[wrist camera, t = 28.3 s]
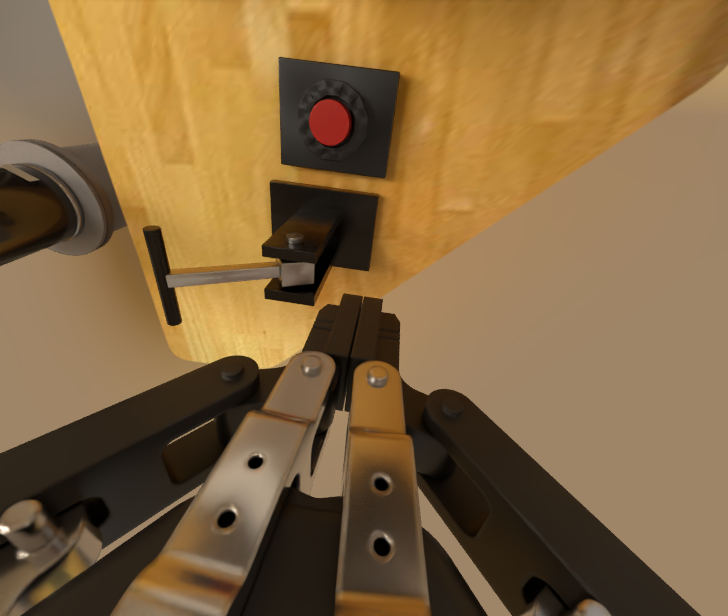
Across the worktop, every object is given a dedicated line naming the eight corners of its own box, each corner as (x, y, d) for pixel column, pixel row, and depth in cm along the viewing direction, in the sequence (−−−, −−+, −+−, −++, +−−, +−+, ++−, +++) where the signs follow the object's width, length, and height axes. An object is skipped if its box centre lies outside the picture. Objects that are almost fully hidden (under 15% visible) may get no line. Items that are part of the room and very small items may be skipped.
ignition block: (286, 161, 36) (275, 167, 33) (284, 59, 31) (271, 54, 28) (386, 175, 35) (384, 181, 32) (400, 73, 30) (399, 69, 27)
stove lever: (168, 315, 28) (166, 331, 26) (144, 222, 23) (140, 234, 22) (306, 298, 32) (313, 311, 30) (307, 218, 28) (315, 228, 26)
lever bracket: (276, 253, 41) (225, 311, 30) (273, 179, 37) (211, 213, 25) (369, 267, 41) (355, 331, 29) (379, 194, 36) (366, 235, 25)
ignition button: (313, 141, 31) (308, 143, 30) (314, 97, 29) (309, 96, 28) (350, 146, 31) (347, 148, 30) (353, 102, 29) (350, 101, 28)
